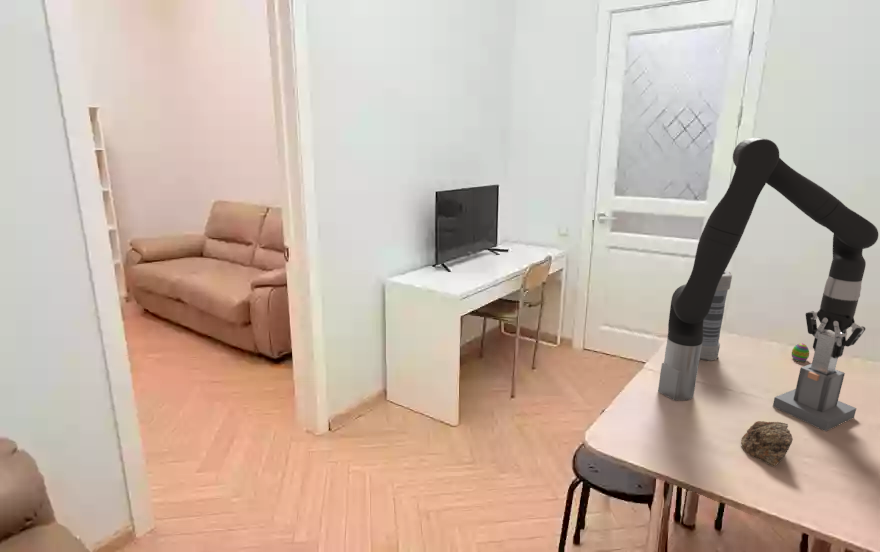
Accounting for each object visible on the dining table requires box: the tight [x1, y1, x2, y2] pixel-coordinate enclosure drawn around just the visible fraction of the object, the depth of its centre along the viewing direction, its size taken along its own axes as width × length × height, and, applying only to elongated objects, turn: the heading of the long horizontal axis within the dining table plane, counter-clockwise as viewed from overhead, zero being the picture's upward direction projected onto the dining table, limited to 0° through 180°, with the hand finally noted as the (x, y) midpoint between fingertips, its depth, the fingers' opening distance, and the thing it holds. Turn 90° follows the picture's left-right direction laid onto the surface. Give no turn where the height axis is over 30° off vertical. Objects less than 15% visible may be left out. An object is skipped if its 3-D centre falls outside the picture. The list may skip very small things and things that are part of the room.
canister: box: [699, 269, 733, 361], centre depth 180 cm, size 10×10×30 cm
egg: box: [791, 342, 810, 363], centre depth 180 cm, size 5×5×6 cm
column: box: [811, 330, 839, 376], centre depth 145 cm, size 4×4×20 cm
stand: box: [772, 363, 857, 432], centre depth 147 cm, size 14×14×13 cm
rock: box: [740, 420, 794, 467], centre depth 131 cm, size 14×9×10 cm
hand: (826, 353), depth 144 cm, fingers closed on column, 4 cm apart
